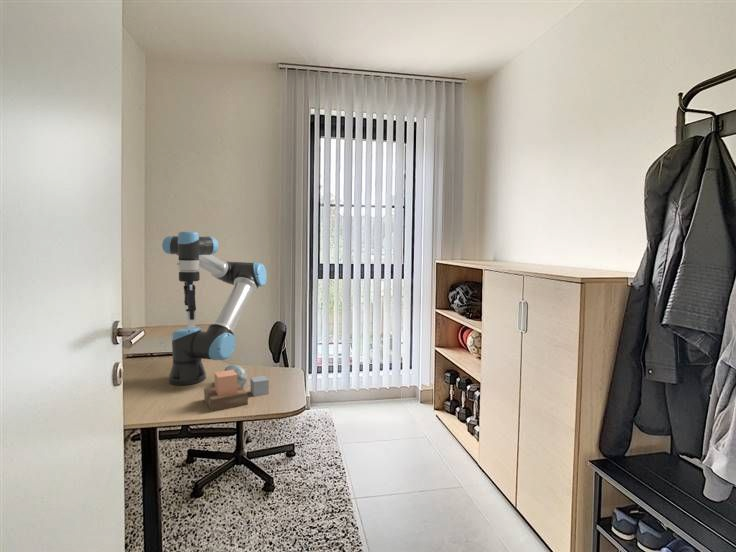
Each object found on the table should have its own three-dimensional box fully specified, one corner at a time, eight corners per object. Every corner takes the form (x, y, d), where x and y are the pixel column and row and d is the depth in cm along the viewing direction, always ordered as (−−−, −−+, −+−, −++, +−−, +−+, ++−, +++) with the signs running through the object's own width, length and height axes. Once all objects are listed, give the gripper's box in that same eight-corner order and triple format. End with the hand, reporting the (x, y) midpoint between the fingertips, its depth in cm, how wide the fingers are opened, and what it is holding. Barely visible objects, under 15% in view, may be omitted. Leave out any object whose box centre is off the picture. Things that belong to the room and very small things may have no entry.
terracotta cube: (214, 389, 165) (214, 372, 165) (233, 386, 169) (233, 369, 168) (218, 395, 159) (218, 377, 159) (237, 392, 163) (237, 374, 162)
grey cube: (250, 391, 177) (250, 377, 176) (265, 389, 179) (264, 375, 179) (253, 396, 171) (253, 382, 171) (268, 394, 174) (268, 379, 174)
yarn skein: (216, 374, 188) (228, 355, 187) (236, 380, 193) (247, 361, 192) (221, 391, 176) (234, 371, 176) (242, 397, 181) (254, 377, 181)
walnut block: (204, 401, 167) (204, 388, 166) (237, 395, 174) (237, 383, 173) (212, 413, 156) (212, 399, 155) (247, 405, 163) (247, 393, 162)
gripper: (176, 268, 177) (177, 319, 179) (180, 273, 155) (182, 331, 157) (196, 268, 180) (197, 318, 182) (203, 273, 158) (204, 329, 160)
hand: (190, 324), depth 169 cm, fingers open, 13 cm apart
